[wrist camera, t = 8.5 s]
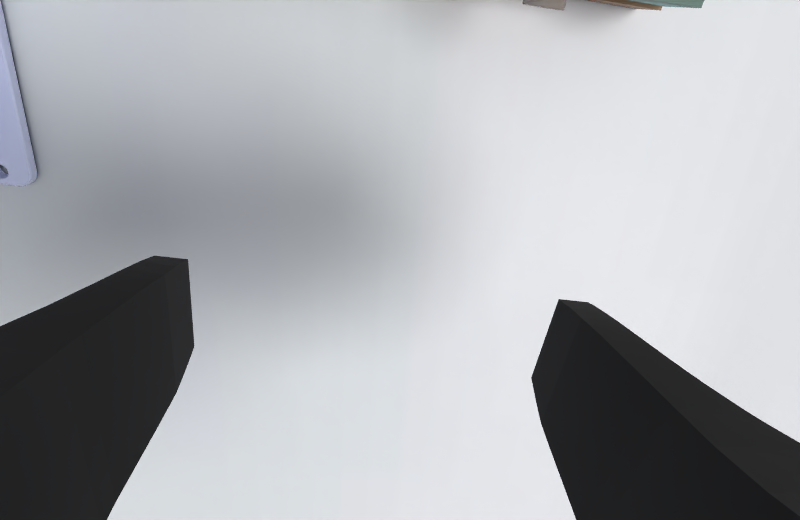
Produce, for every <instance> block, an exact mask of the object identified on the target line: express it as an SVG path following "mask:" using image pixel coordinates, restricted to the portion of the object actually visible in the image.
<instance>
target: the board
mask: <svg viewBox="0 0 800 520" xmlns="http://www.w3.org/2000/svg"><path fill="white" fill-rule="evenodd" d="M588 1H594V2H600V3H606V4H612V5H618V6H624V7H629V8H635V9H649V10H661V8H662V6H665V7H689V8H701V7H702V4H703V2H704V0H588Z"/></svg>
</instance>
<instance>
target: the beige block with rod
mask: <svg viewBox="0 0 800 520" xmlns="http://www.w3.org/2000/svg"><path fill="white" fill-rule="evenodd" d="M523 4H526V5H531V6H537V7H543V8H550V9H557V10H564V8H565V4H566V0H523Z"/></svg>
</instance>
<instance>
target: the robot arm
mask: <svg viewBox="0 0 800 520" xmlns="http://www.w3.org/2000/svg"><path fill="white" fill-rule="evenodd" d="M0 165H3V166H4V167H5V168H6V169H7V171H8V174H5V173H4V172H3V171H2V170H1V168H0V184H5V185H13V186H26V185H28V184H30V183H32V182H33V181H35V179H36V178H37V169H36V165H35V160H34V155H33V151H32V146H31V141H30V137H29V132H28V127H27V123H26V118H25V113H24V109H23V104H22V99H21V94H20V90H19V85H18V80H17V76H16V71H15V66H14V62H13V57H12V52H11V48H10V43H9V38H8V34H7V29H6V24H5V19H4V15H3V10H2V5H1V1H0ZM193 348H194V336H193V322H192V309H191V295H190V281H189V267H188V259H179V258H170V257H161V256H153V257H150V258H147V259H145V260H142V261H140V262H138V263H135V264H133V265H131V266H129V267H127V268H125V269H123V270H120V271H118V272H116V273H114V274H112V275H110V276H108V277H106V278H104V279H102V280H100V281H98V282H96V283H94V284H92V285H90V286H88V287H85V288H83V289H81V290H79V291H77V292H75V293H73V294H71V295H69V296H67V297H65V298H63V299H61V300H58V301H56V302H54V303H52V304H50V305H48V306H46V307H43V308H41V309H39V310H36V311H34V312H32V313H30V314H27V315H25V316H23V317H20V318H18V319H16V320H14V321H11V322H9V323H7V324H5V325H2V326H0V520H107V518H108V516H109V514H110V512H111V510H112V508H113V506H114V504H115V502H116V501H117V499H118V497H119V495H120V493H121V492H122V490H123V488H124V486H125V484H126V483H127V481H128V479H129V477H130V476H131V474H132V472H133V470H134V468H135V467H136V465H137V463H138V461H139V459H140V458H141V456H142V454H143V452H144V451H145V449H146V447H147V445H148V443H149V442H150V440H151V438H152V436H153V434H154V433H155V431H156V429H157V427H158V425H159V424H160V422H161V420H162V418H163V416H164V415H165V413H166V411H167V409H168V407H169V405H170V404H171V402H172V400H173V398H174V396H175V394H176V392H177V390H178V387H179V385H180V382H181V380H182V378H183V375H184V373H185V370H186V367H187V365H188V362H189V359H190V357H191V354H192V351H193ZM531 378H532V383H533V388H534V393H535V398H536V403H537V407H538V412H539V416H540V420H541V424H542V427H543V430H544V433H545V436H546V438H547V441H548V444H549V447H550V449H551V452H552V455H553V458H554V461H555V463H556V466H557V469H558V471H559V474H560V477H561V479H562V482H563V485H564V488H565V490H566V493H567V496H568V498H569V501H570V504H571V506H572V509H573V512H574V515H575V517H576V520H800V443H799V442H797V441H795V440H794V439H792V438H790V437H789V436H787V435H785V434H783V433H782V432H780V431H778V430H777V429H775V428H773V427H771V426H770V425H768V424H766V423H765V422H763V421H761V420H760V419H758V418H756V417H755V416H753V415H752V414H750V413H748V412H747V411H745V410H744V409H742V408H741V407H739V406H737V405H736V404H734V403H733V402H731V401H730V400H728V399H727V398H725V397H724V396H722V395H721V394H719V393H718V392H716V391H715V390H713V389H712V388H710V387H709V386H707V385H706V384H704V383H703V382H701V381H700V380H699V379H697V378H696V377H694V376H693V375H691V374H690V373H688V372H687V371H686V370H684V369H683V368H681V367H680V366H679V365H677V364H676V363H674V362H673V361H672V360H670V359H669V358H667V357H666V356H665V355H663V354H662V353H660V352H659V351H658V350H656V349H655V348H654V347H652V346H651V345H649V344H648V343H647V342H645V341H644V340H643V339H641V338H640V337H639V336H637V335H636V334H634V333H633V332H632V331H630V330H629V329H628V328H626V327H625V326H623V325H622V324H621V323H619V322H618V321H616V320H615V319H613V318H612V317H611V316H609V315H608V314H606V313H605V312H603V311H602V310H600V309H599V308H597V307H595V306H593V305H592V304H590V303H588V302H579V301H570V300H561V299H559V300H558V303H557V306H556V309H555V312H554V314H553V317H552V320H551V323H550V326H549V329H548V332H547V335H546V337H545V340H544V343H543V346H542V349H541V352H540V355H539V357H538V360H537V363H536V366H535V369H534V372H533V375H532V377H531Z"/></svg>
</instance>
